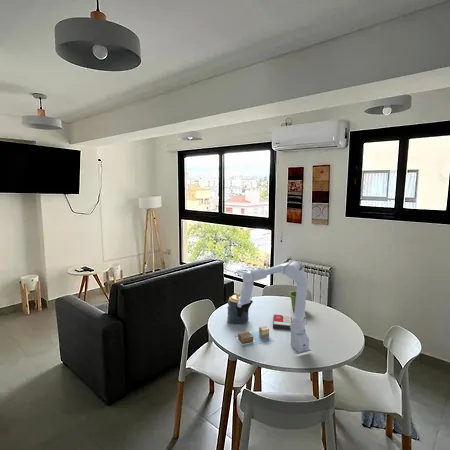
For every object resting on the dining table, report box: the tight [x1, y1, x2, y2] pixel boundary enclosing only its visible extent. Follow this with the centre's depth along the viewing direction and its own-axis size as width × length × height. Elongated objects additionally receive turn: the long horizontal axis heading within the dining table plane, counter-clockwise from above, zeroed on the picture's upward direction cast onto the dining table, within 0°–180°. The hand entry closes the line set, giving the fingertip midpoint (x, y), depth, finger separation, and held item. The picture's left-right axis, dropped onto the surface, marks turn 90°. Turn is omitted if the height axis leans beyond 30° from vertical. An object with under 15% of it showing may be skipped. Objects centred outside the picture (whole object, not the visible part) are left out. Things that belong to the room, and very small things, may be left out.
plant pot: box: [289, 290, 308, 312], centre depth 199 cm, size 12×12×11 cm
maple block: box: [258, 325, 270, 339], centre depth 163 cm, size 4×4×5 cm
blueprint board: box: [234, 331, 275, 348], centre depth 161 cm, size 12×18×1 cm, turn 111°
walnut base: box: [237, 330, 253, 344], centre depth 159 cm, size 6×6×3 cm
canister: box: [226, 292, 250, 325], centre depth 182 cm, size 13×13×18 cm
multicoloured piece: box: [272, 314, 293, 331], centre depth 179 cm, size 11×4×15 cm
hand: (242, 314), depth 168 cm, fingers open, 7 cm apart
